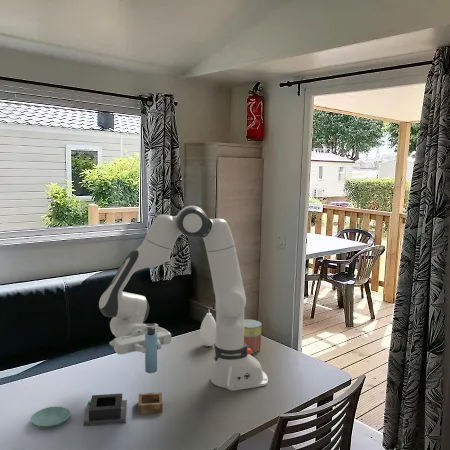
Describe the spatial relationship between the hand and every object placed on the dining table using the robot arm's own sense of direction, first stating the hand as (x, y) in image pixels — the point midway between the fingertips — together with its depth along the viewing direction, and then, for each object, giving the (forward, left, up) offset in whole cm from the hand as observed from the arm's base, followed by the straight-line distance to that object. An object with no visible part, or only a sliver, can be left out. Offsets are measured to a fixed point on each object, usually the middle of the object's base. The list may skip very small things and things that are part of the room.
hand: (152, 348), depth 154 cm
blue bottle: (0, -1, -8) cm, 8 cm away
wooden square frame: (0, -1, -21) cm, 21 cm away
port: (+15, +2, -21) cm, 26 cm away
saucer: (+32, +4, -22) cm, 39 cm away
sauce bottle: (-27, -53, -21) cm, 63 cm away
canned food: (-45, -48, -21) cm, 69 cm away
